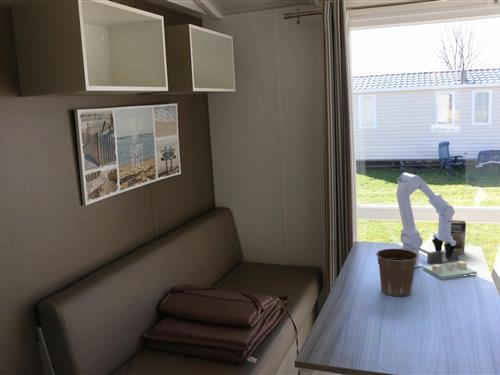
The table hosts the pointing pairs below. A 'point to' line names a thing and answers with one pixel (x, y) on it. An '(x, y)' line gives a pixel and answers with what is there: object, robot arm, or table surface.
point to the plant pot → (396, 271)
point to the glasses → (440, 256)
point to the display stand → (449, 270)
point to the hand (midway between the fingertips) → (443, 255)
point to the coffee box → (458, 234)
